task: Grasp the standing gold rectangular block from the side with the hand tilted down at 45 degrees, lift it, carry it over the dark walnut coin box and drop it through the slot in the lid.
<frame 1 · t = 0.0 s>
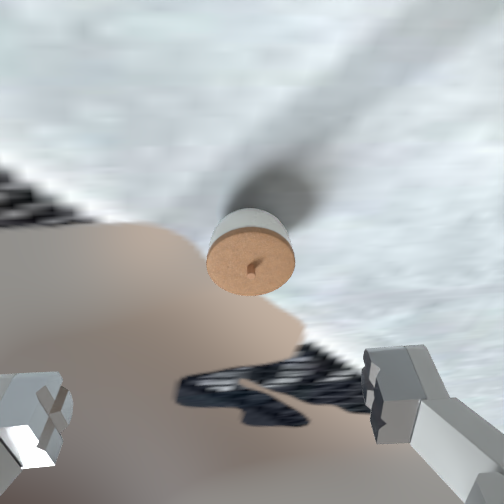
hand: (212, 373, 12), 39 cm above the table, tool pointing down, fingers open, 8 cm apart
lidded jar: (249, 225, 58), on the table
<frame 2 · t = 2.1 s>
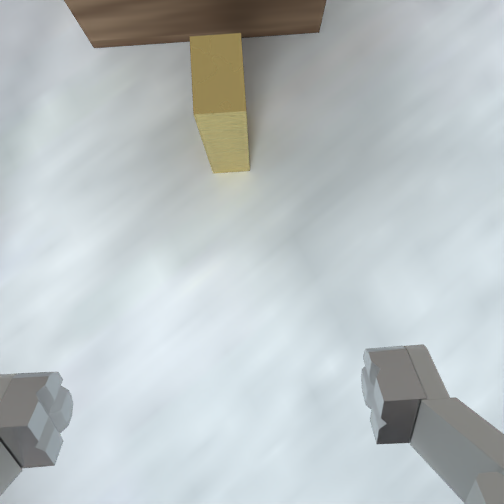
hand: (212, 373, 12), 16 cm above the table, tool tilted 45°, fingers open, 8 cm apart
gold rectangular block: (229, 144, 30), on the table
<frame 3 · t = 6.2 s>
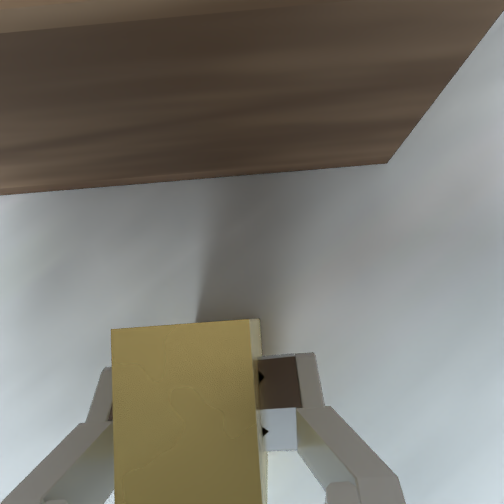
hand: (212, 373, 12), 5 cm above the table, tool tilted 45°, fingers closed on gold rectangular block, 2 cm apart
gold rectangular block: (230, 374, 16), on the table, touching gripper
coin box: (179, 3, 19), on the table
when the fingers open (18 cm above the table, at t = 9.6 s): gold rectangular block drops 13 cm, resting on coin box.
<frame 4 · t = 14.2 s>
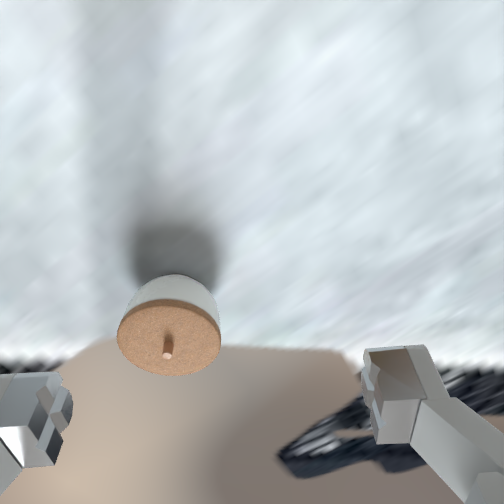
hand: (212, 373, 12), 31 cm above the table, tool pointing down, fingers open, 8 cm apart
lidded jar: (177, 292, 51), on the table
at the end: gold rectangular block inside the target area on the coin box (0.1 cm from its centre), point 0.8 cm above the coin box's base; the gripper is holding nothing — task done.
